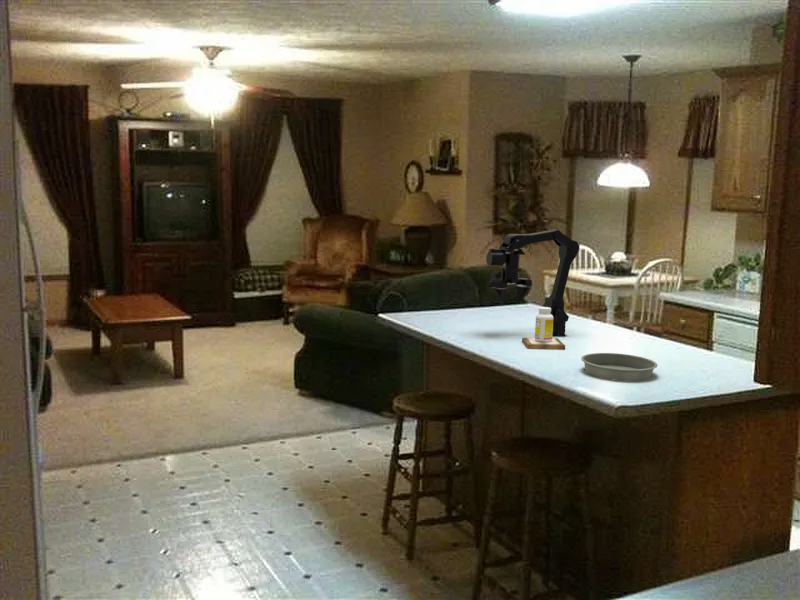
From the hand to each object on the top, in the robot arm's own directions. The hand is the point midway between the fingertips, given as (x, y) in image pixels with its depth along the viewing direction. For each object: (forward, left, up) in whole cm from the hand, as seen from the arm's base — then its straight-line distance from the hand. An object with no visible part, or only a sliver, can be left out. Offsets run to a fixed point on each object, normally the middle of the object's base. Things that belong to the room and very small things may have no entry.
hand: (509, 304), depth 332 cm
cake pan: (-28, +60, -14) cm, 67 cm away
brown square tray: (-11, +17, -13) cm, 24 cm away
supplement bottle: (-11, +17, -12) cm, 23 cm away
